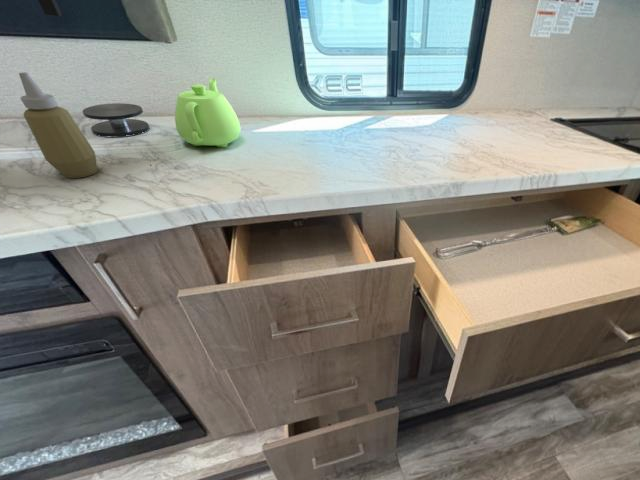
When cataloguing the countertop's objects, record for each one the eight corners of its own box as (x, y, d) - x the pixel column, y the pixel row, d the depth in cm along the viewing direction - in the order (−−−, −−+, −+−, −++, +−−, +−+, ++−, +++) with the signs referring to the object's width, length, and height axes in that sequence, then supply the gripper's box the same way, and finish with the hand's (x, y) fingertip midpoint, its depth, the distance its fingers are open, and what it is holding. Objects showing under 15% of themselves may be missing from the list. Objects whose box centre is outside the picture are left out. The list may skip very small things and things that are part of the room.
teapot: (200, 126, 99) (184, 73, 90) (253, 129, 100) (242, 77, 92) (169, 152, 83) (145, 91, 74) (232, 155, 84) (216, 96, 76)
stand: (80, 133, 88) (68, 112, 84) (118, 120, 97) (109, 101, 94) (126, 140, 87) (116, 118, 83) (160, 126, 96) (152, 106, 93)
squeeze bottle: (109, 174, 72) (58, 75, 60) (62, 184, 67) (-4, 79, 55) (97, 163, 75) (46, 67, 63) (52, 171, 71) (-13, 70, 59)
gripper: (-239, -271, 31) (-50, 22, 46) (22, -171, 49) (98, 16, 64) (-308, -276, 32) (-99, 16, 46) (-24, -175, 50) (62, 12, 64)
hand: (16, 16), depth 55 cm, fingers open, 13 cm apart
